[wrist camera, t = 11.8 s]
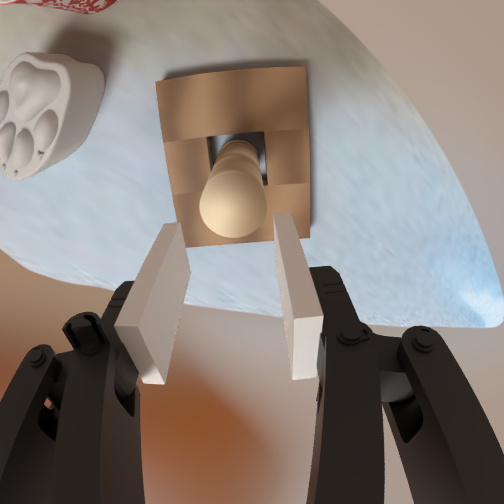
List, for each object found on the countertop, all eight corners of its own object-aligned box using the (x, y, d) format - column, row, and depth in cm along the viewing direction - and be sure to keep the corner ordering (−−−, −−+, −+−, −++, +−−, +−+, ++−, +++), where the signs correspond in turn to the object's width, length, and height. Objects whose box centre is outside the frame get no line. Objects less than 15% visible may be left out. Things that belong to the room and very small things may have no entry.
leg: (221, 177, 31) (204, 240, 19) (216, 140, 29) (194, 179, 17) (259, 174, 31) (268, 235, 19) (256, 136, 29) (264, 172, 17)
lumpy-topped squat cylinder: (115, 72, 24) (74, 70, 17) (75, 176, 30) (34, 204, 22) (49, 49, 21) (2, 47, 14) (18, 146, 27) (-27, 167, 19)
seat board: (185, 239, 34) (182, 247, 33) (160, 82, 25) (155, 81, 24) (306, 229, 34) (310, 237, 32) (301, 68, 25) (305, 66, 23)
